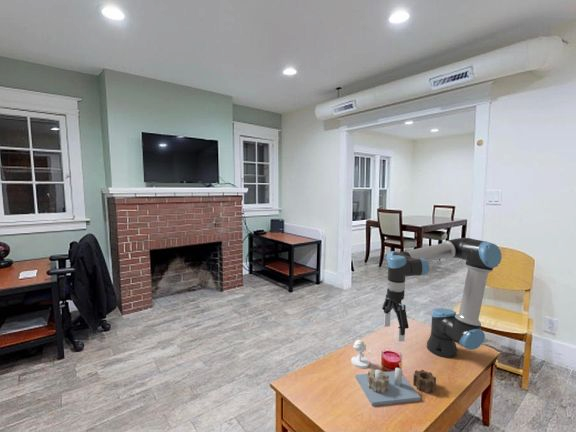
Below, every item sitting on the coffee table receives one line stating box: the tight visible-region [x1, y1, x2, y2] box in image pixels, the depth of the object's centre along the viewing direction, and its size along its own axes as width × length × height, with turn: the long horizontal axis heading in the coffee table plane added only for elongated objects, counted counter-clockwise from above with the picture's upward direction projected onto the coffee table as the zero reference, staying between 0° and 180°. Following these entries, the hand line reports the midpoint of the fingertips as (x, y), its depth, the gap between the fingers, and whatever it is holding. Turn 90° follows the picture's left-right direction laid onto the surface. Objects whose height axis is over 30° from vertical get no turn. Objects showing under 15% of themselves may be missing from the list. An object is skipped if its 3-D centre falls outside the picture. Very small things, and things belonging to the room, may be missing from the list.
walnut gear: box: [412, 369, 437, 394], centre depth 134 cm, size 9×9×5 cm
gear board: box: [355, 367, 422, 407], centre depth 132 cm, size 22×18×8 cm
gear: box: [367, 368, 389, 394], centre depth 132 cm, size 9×9×5 cm
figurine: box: [351, 339, 370, 369], centre depth 151 cm, size 9×9×12 cm
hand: (393, 333), depth 137 cm, fingers open, 13 cm apart
